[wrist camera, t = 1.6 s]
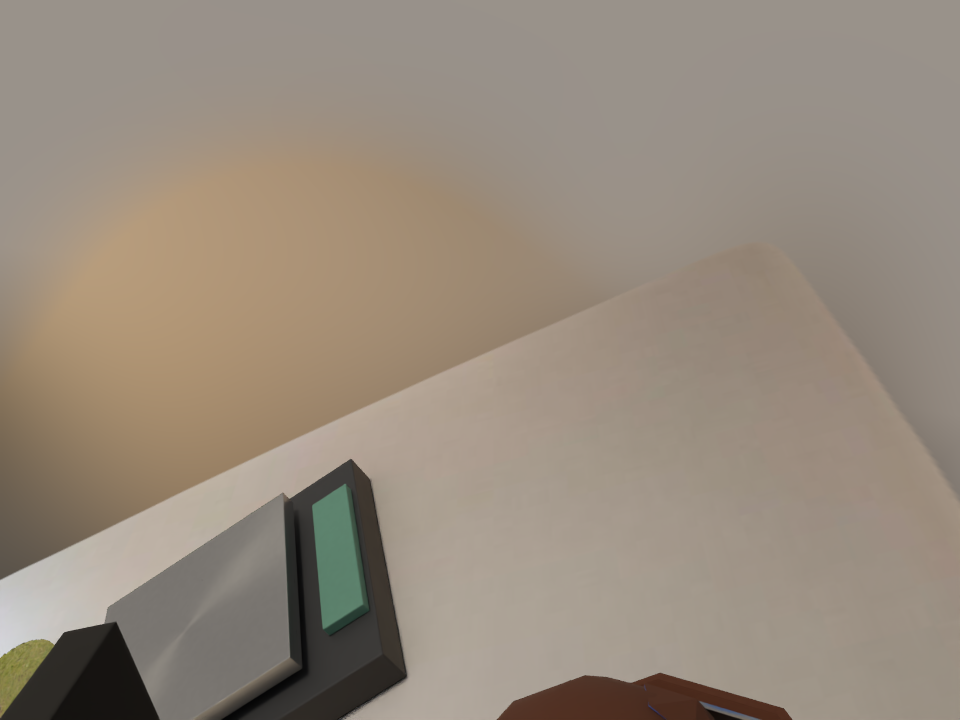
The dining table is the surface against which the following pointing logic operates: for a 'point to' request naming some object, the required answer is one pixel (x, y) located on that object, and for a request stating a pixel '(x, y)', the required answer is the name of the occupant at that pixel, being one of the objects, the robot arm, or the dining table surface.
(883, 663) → the dining table surface
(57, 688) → the robot arm
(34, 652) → the mat
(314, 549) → the scale
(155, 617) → the scale pan
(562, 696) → the ice cream bowl
